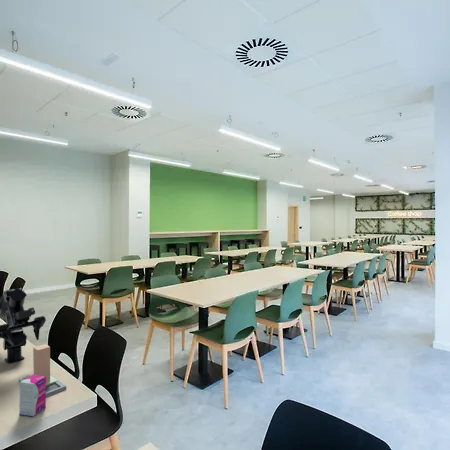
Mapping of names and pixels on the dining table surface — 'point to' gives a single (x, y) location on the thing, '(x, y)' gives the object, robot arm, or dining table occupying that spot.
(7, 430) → the dining table surface
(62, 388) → the tray
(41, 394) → the supplement box
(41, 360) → the tan tall block
